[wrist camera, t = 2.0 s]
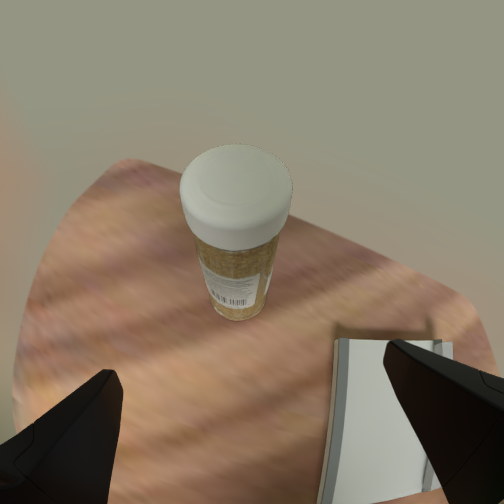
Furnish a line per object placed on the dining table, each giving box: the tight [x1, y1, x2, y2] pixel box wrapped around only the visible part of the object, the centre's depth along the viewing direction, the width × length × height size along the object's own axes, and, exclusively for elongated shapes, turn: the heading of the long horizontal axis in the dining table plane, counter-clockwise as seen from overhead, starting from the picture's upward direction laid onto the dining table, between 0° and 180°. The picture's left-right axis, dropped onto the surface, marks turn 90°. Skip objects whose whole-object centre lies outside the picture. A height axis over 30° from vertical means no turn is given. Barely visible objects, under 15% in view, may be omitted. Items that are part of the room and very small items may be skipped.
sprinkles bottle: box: [180, 144, 293, 321], centre depth 17 cm, size 5×5×13 cm
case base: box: [316, 338, 453, 504], centre depth 17 cm, size 14×10×2 cm
